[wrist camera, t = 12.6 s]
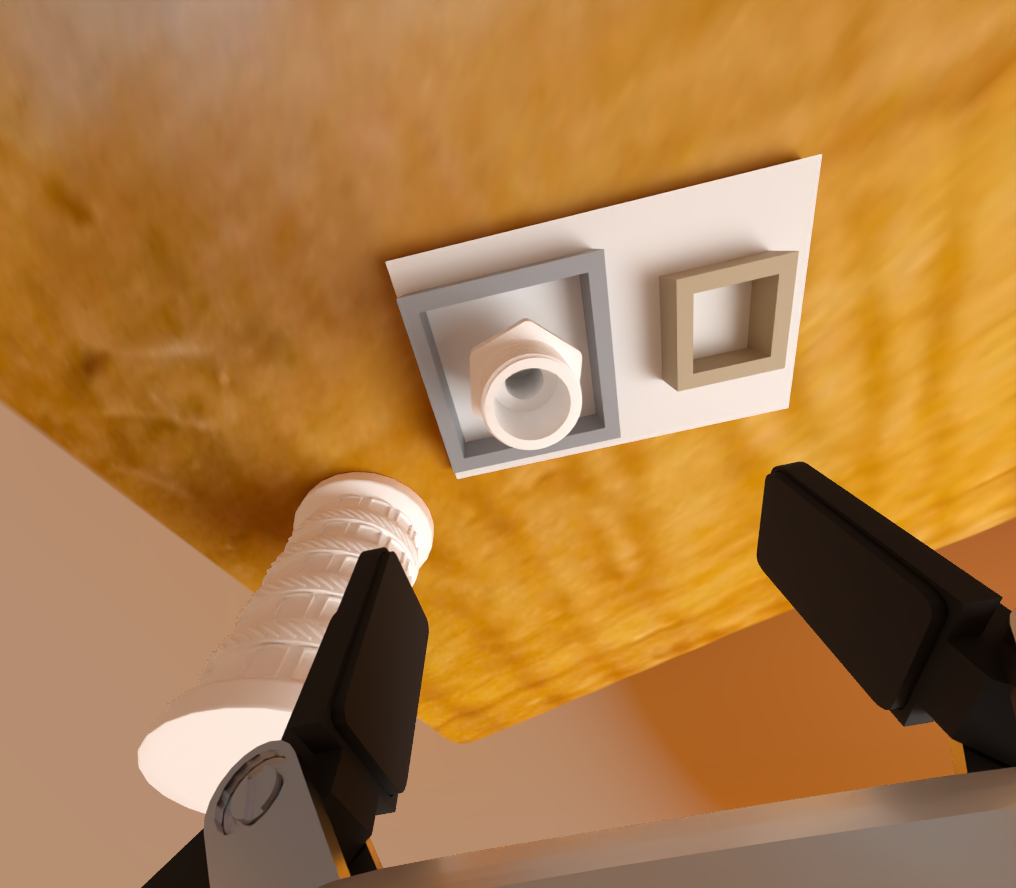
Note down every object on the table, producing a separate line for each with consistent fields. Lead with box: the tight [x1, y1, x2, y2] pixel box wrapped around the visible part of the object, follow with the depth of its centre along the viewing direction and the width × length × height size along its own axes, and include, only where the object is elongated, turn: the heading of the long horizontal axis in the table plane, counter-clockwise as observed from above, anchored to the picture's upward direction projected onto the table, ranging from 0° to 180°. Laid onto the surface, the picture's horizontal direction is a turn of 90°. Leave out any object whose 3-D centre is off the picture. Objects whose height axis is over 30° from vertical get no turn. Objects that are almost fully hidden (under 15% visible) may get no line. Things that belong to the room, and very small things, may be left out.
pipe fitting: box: [470, 318, 582, 450], centre depth 23 cm, size 6×7×8 cm
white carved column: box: [138, 472, 434, 814], centre depth 26 cm, size 12×12×18 cm
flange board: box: [385, 154, 822, 479], centre depth 26 cm, size 16×26×4 cm, turn 102°
